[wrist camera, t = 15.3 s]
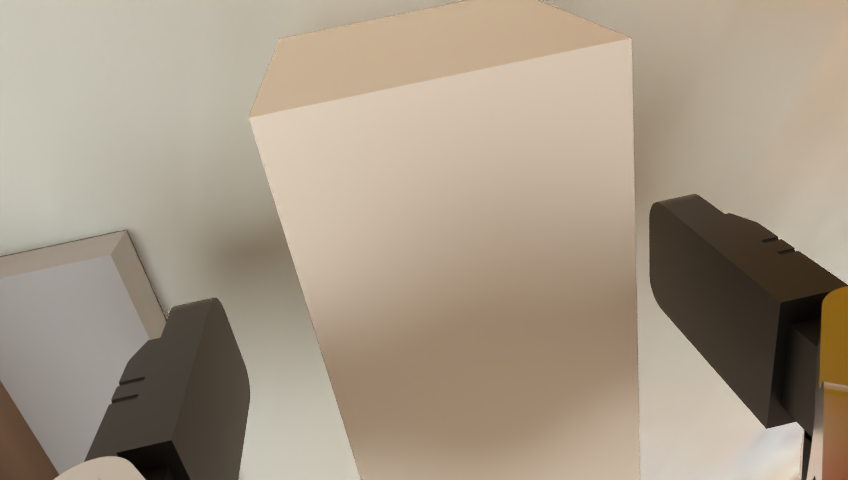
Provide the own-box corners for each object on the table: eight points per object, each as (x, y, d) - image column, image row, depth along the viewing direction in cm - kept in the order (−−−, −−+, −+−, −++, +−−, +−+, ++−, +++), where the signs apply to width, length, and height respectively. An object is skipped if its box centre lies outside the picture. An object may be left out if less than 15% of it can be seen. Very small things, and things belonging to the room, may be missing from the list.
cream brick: (512, -10, 14) (631, 37, 8) (546, 331, 18) (640, 508, 12) (279, 37, 13) (248, 118, 8) (370, 371, 18) (388, 568, 12)
